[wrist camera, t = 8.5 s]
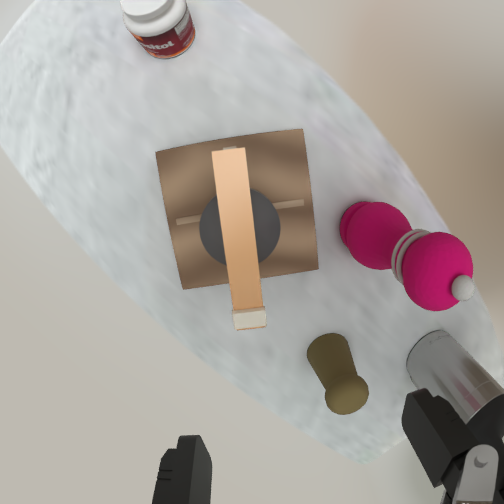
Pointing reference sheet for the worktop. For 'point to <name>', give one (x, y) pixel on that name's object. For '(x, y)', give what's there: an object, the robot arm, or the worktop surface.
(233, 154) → the tan long piece
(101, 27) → the worktop surface
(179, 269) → the square stand base
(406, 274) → the pepper mill
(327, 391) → the cork
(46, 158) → the worktop surface
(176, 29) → the pill bottle
